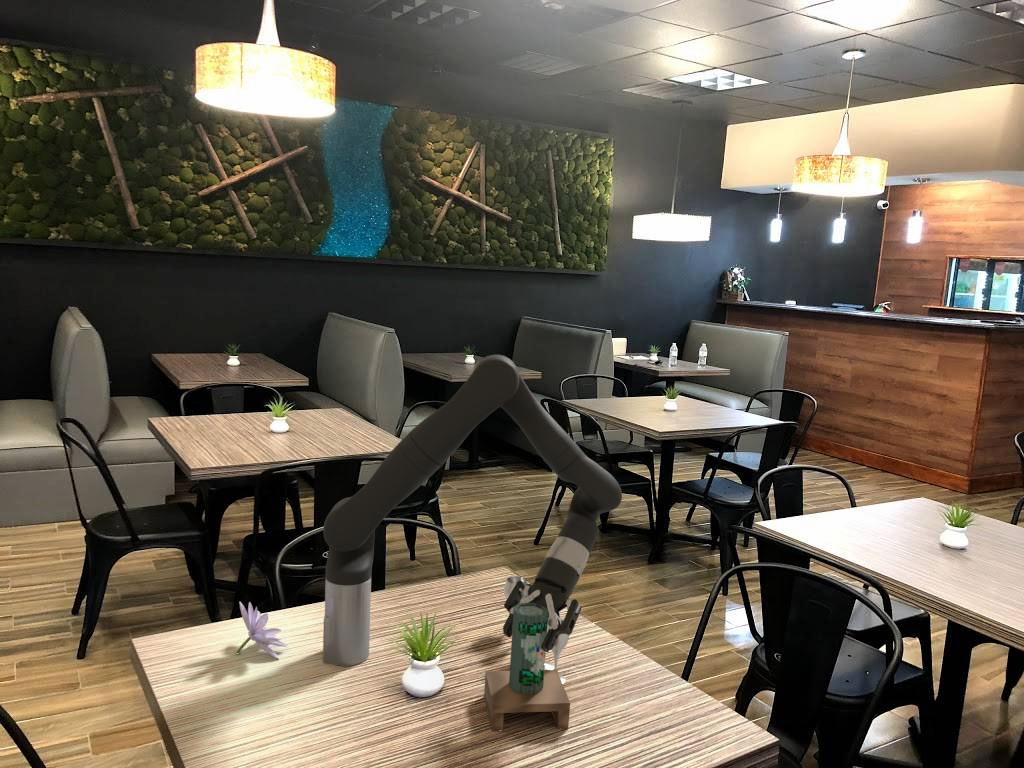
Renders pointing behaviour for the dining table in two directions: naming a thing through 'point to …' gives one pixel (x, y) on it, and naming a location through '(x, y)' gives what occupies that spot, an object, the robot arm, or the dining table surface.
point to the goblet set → (561, 639)
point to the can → (528, 648)
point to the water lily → (259, 630)
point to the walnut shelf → (525, 698)
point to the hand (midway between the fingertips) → (524, 642)
